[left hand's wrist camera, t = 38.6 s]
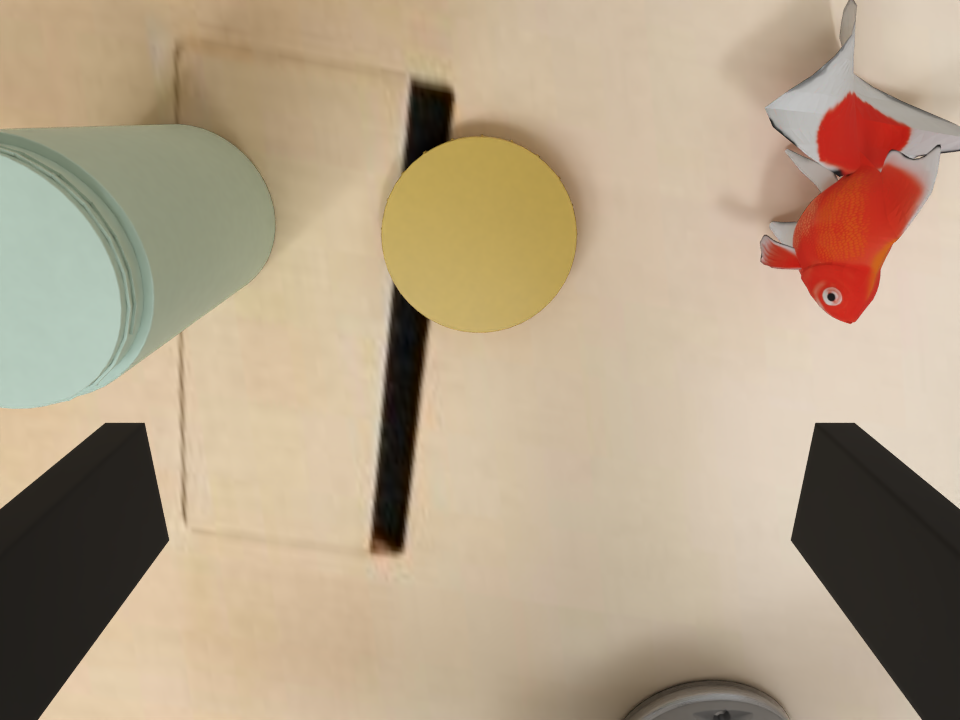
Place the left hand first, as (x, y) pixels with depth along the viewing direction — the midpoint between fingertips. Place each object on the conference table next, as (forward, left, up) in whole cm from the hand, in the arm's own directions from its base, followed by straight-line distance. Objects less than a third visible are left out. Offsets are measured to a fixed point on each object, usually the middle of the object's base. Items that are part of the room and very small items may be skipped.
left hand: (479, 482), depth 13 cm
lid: (0, 0, -26) cm, 26 cm away
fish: (-10, -16, -28) cm, 34 cm away
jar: (+13, +11, -28) cm, 33 cm away
